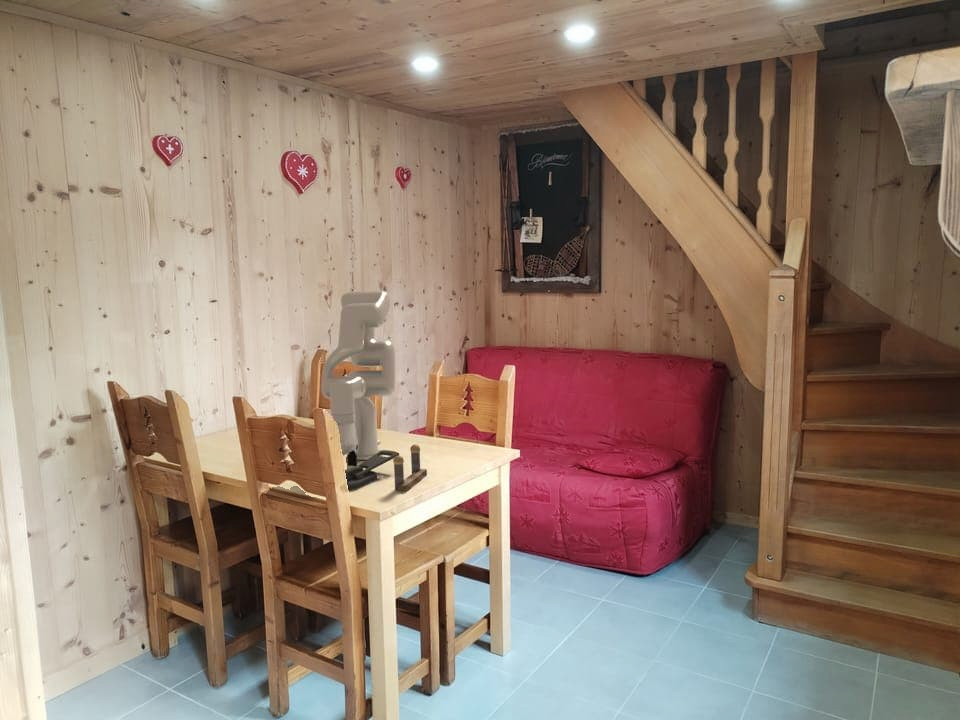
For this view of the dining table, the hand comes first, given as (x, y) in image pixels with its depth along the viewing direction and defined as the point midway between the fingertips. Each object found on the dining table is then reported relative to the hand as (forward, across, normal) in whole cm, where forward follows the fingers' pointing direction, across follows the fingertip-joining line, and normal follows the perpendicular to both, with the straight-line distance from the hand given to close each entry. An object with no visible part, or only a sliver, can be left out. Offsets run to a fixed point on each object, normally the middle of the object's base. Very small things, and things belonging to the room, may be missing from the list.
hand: (345, 470), depth 217 cm
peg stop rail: (+3, 0, +22) cm, 22 cm away
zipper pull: (+3, -1, +7) cm, 8 cm away
